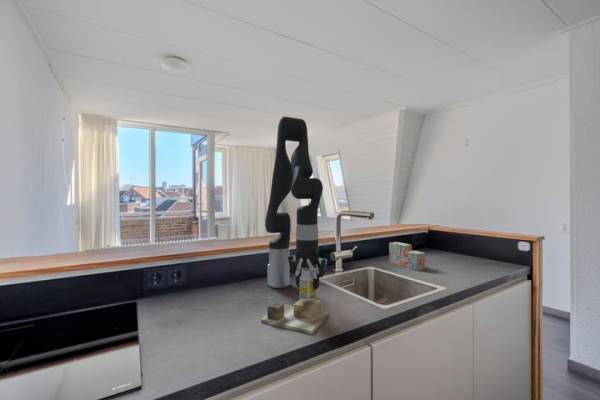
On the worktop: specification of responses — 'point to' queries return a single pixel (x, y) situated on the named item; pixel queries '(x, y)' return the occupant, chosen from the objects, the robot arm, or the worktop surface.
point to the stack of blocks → (406, 256)
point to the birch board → (296, 321)
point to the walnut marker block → (275, 311)
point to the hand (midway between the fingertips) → (307, 287)
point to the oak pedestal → (307, 309)
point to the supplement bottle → (306, 285)
